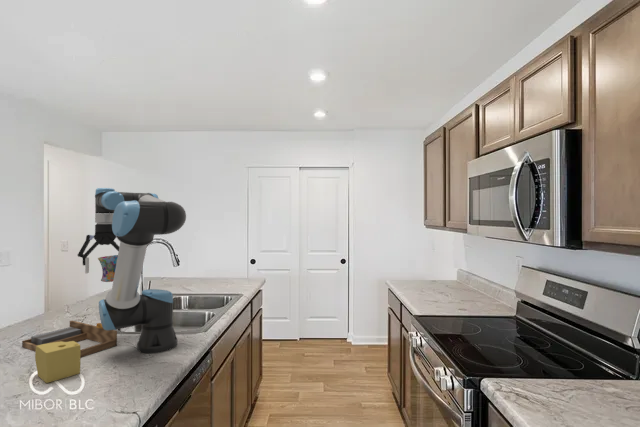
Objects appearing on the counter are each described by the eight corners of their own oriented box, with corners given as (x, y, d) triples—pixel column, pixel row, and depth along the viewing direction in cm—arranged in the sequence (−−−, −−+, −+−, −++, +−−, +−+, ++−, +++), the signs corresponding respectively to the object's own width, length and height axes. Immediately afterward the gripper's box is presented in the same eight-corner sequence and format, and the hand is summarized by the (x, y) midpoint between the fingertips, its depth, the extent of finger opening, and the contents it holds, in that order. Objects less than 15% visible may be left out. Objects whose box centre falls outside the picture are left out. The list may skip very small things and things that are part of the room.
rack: (117, 345, 152) (117, 326, 152) (66, 361, 135) (67, 340, 135) (72, 333, 167) (72, 316, 167) (21, 347, 150) (22, 328, 150)
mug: (116, 282, 157) (114, 257, 157) (95, 283, 158) (92, 258, 158) (131, 276, 169) (129, 253, 169) (112, 278, 170) (110, 255, 170)
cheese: (70, 365, 132) (71, 337, 132) (82, 374, 125) (82, 344, 125) (34, 375, 124) (35, 345, 124) (44, 385, 117) (44, 353, 117)
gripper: (137, 223, 170) (137, 269, 170) (74, 223, 162) (74, 272, 162) (135, 223, 163) (135, 272, 163) (69, 223, 155) (69, 274, 155)
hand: (104, 272), depth 163 cm, fingers open, 13 cm apart
